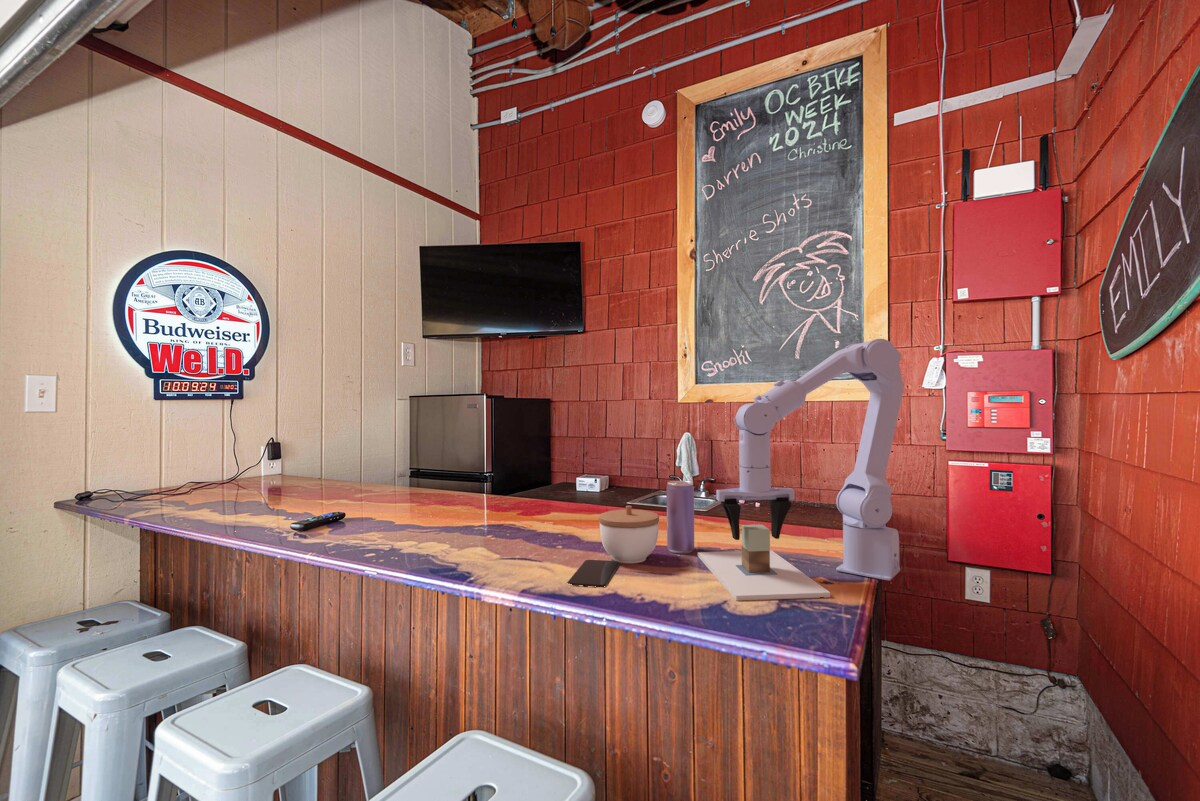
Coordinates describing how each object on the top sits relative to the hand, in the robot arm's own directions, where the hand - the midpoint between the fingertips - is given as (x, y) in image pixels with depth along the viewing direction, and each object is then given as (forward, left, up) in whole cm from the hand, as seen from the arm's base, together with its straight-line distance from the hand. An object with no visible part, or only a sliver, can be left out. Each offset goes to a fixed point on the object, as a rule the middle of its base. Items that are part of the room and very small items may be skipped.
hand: (755, 538), depth 104 cm
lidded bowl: (+25, +7, -7) cm, 27 cm away
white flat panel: (0, 0, -7) cm, 7 cm away
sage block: (0, 0, -2) cm, 2 cm away
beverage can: (+20, -5, -7) cm, 22 cm away
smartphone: (+24, +19, -7) cm, 32 cm away
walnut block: (0, 0, -6) cm, 6 cm away
